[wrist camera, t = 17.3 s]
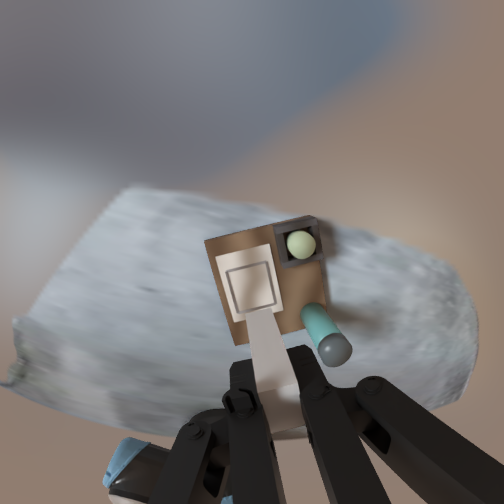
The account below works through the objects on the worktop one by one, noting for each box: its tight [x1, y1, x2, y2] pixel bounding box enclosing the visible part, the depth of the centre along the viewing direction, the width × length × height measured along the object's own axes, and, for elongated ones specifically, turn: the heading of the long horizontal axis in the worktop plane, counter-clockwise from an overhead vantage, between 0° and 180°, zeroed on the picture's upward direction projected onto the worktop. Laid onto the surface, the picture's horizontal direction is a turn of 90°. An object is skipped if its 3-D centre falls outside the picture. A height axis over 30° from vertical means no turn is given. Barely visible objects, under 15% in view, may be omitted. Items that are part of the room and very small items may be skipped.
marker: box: [300, 302, 352, 367], centre depth 38 cm, size 4×4×12 cm
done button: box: [286, 229, 316, 259], centre depth 38 cm, size 4×4×3 cm
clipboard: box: [204, 215, 327, 346], centre depth 41 cm, size 16×18×4 cm
